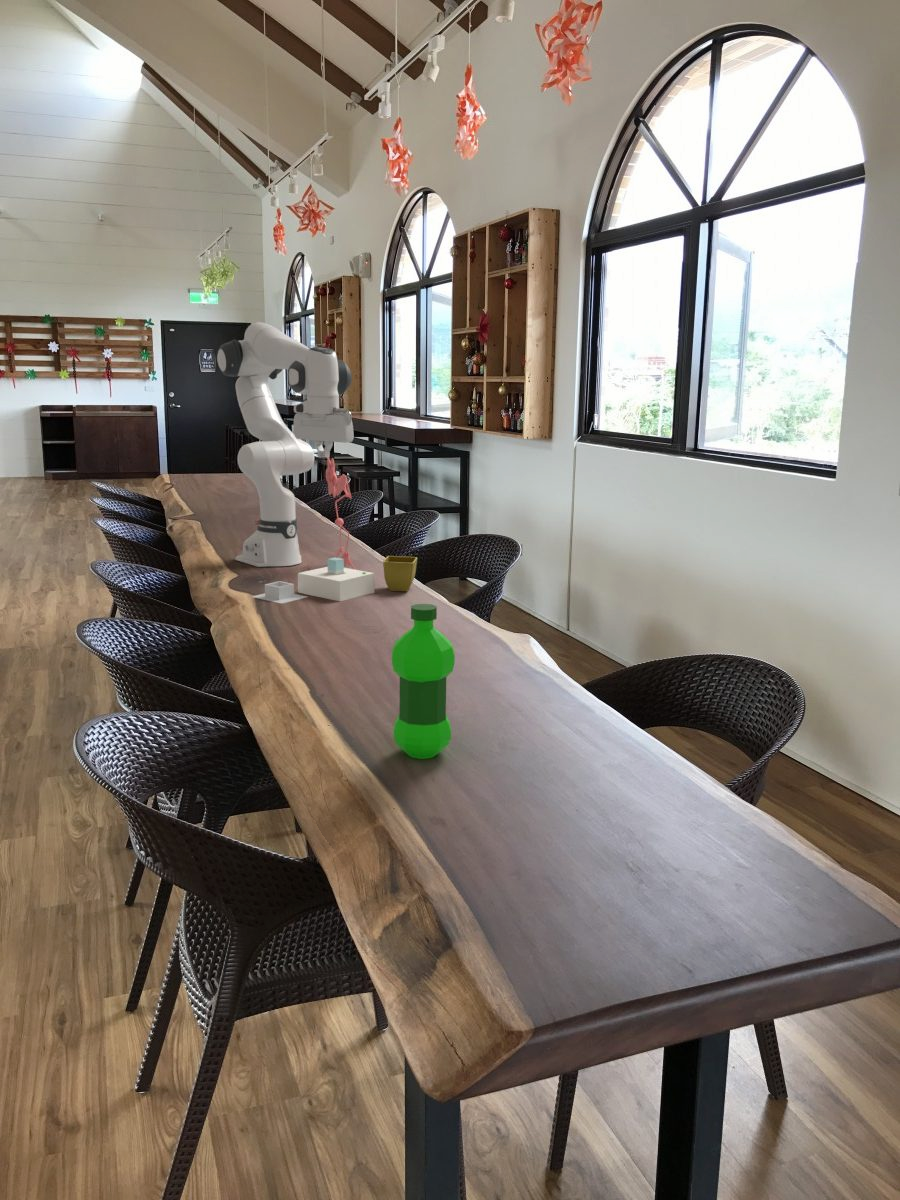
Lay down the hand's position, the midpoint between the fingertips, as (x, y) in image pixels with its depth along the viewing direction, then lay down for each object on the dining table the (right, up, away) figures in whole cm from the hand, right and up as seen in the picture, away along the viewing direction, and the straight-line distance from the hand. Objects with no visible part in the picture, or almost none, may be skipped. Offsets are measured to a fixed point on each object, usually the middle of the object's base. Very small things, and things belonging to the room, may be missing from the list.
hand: (323, 457), depth 270 cm
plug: (+4, -38, -2) cm, 38 cm away
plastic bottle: (+31, -66, -111) cm, 133 cm away
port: (+4, -39, -2) cm, 39 cm away
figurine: (-2, -31, +32) cm, 44 cm away
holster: (-11, -40, -8) cm, 42 cm away
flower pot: (+21, -38, +5) cm, 44 cm away
